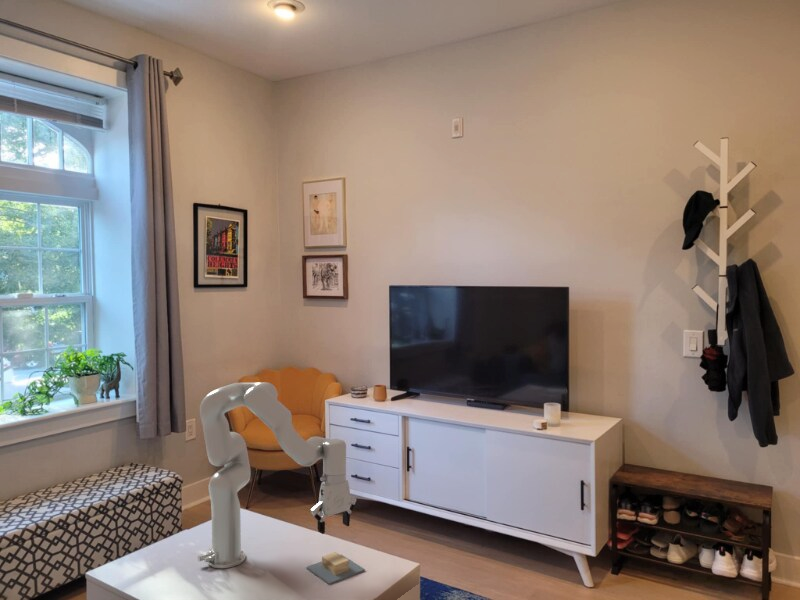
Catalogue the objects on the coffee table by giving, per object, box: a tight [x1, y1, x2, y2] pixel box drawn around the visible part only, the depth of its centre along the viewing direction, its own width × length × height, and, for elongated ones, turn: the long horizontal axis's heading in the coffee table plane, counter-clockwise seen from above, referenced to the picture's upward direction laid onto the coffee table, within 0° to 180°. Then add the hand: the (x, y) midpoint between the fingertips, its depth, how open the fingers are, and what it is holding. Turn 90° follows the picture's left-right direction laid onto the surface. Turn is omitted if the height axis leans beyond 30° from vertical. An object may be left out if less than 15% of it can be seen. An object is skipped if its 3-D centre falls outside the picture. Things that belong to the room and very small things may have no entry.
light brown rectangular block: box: [321, 551, 350, 575], centre depth 193 cm, size 8×6×3 cm
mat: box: [305, 554, 366, 586], centre depth 193 cm, size 14×14×1 cm
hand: (333, 528), depth 193 cm, fingers open, 9 cm apart
